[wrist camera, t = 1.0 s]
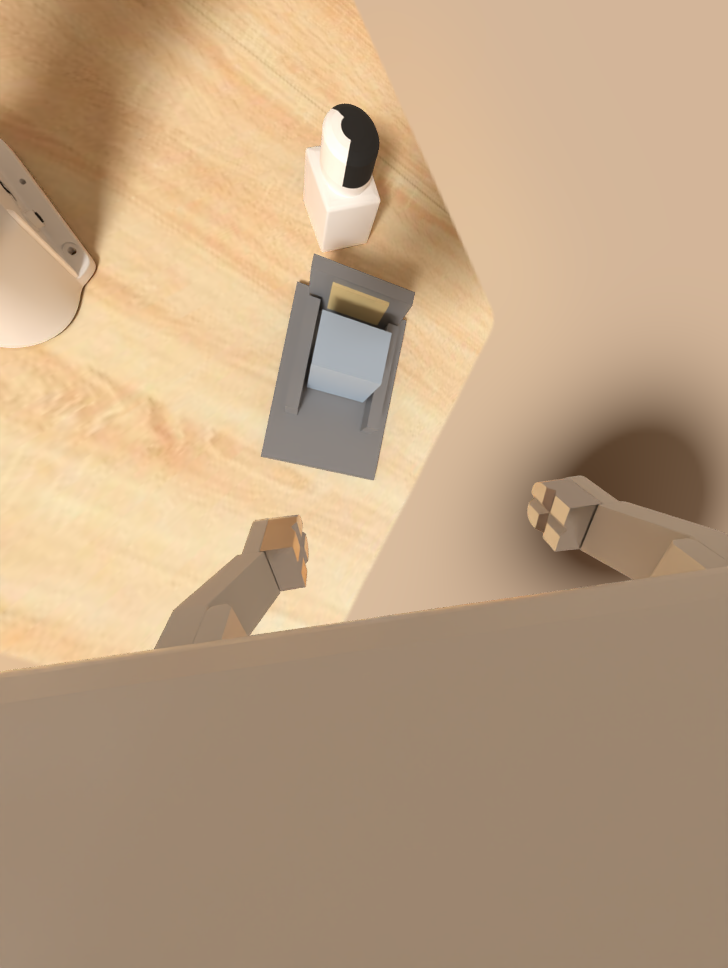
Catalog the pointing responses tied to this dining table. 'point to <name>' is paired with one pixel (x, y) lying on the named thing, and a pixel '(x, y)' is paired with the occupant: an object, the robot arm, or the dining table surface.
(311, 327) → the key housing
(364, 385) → the key block
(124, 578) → the dining table surface
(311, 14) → the dining table surface
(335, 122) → the medicine bottle
